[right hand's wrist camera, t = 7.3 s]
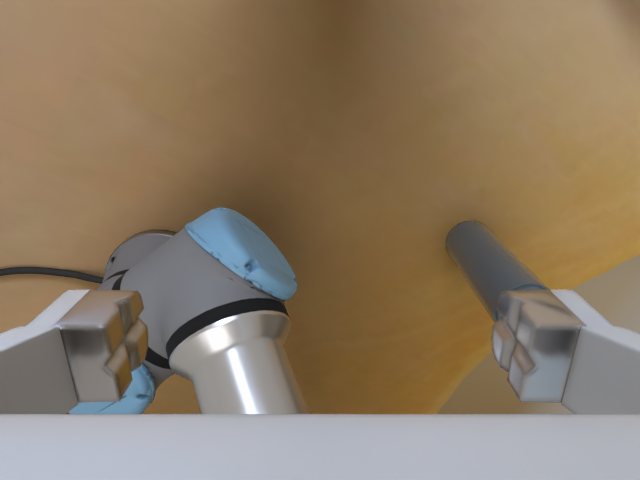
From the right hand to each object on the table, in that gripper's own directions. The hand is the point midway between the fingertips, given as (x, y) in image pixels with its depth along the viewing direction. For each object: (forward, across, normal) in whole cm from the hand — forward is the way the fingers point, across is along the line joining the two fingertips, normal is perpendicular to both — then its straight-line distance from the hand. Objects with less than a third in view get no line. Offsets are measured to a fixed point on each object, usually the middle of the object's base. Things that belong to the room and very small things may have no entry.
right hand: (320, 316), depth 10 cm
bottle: (+48, -20, +18) cm, 55 cm away
